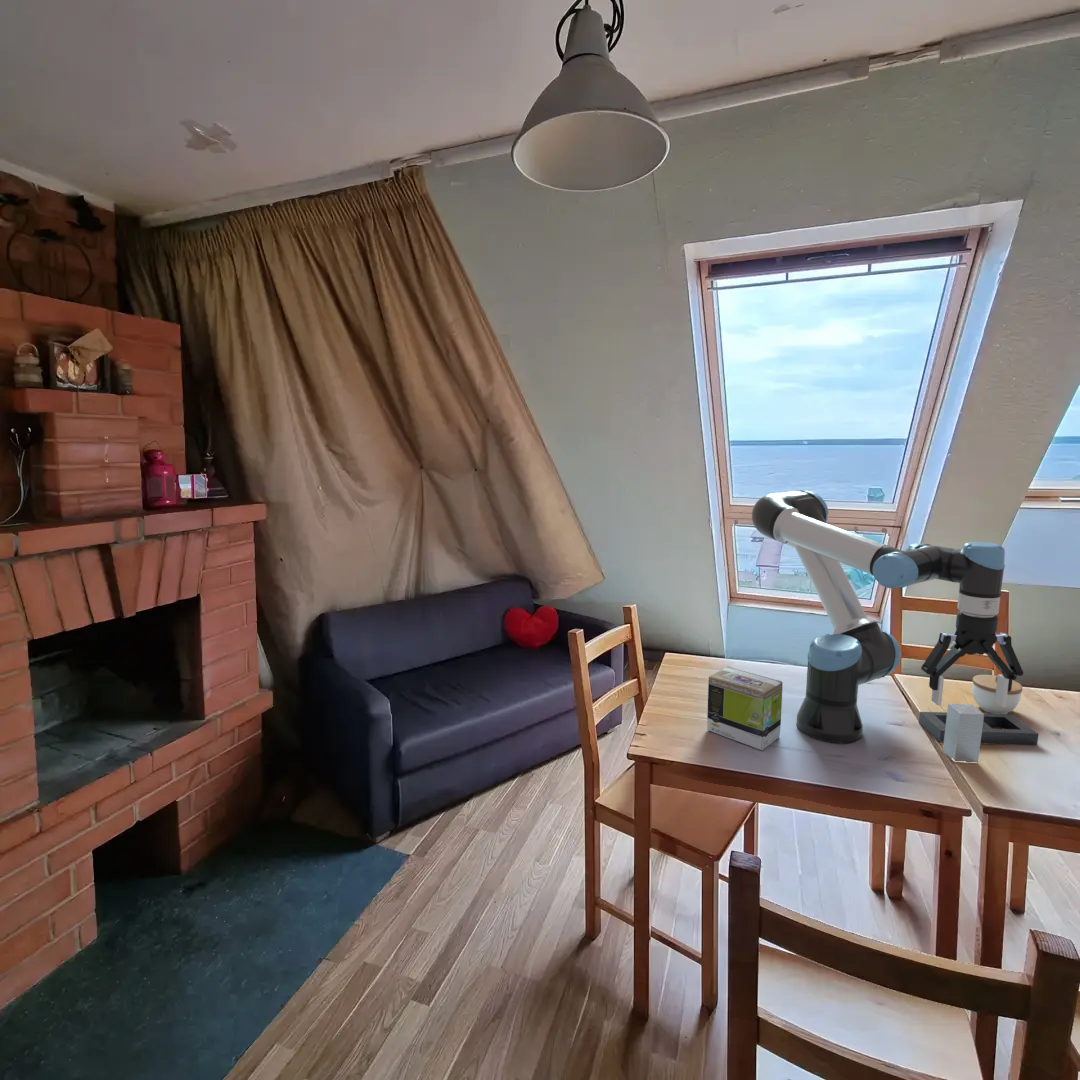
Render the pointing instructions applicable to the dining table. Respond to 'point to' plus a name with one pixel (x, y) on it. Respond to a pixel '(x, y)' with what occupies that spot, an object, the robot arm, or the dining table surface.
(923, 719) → the dark grey flat frame
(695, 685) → the dining table surface
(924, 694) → the dining table surface
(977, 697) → the lidded jar
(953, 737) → the solid steel block
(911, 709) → the dining table surface
